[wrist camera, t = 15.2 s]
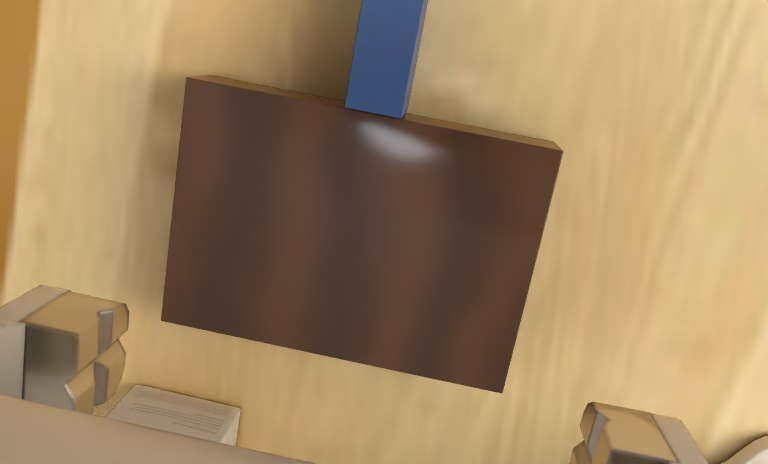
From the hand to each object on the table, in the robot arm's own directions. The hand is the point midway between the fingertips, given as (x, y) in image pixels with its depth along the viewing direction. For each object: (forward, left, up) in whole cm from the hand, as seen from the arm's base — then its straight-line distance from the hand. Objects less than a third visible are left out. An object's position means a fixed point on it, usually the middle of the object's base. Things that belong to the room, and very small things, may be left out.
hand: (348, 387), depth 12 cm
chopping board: (+3, +5, -29) cm, 30 cm away
